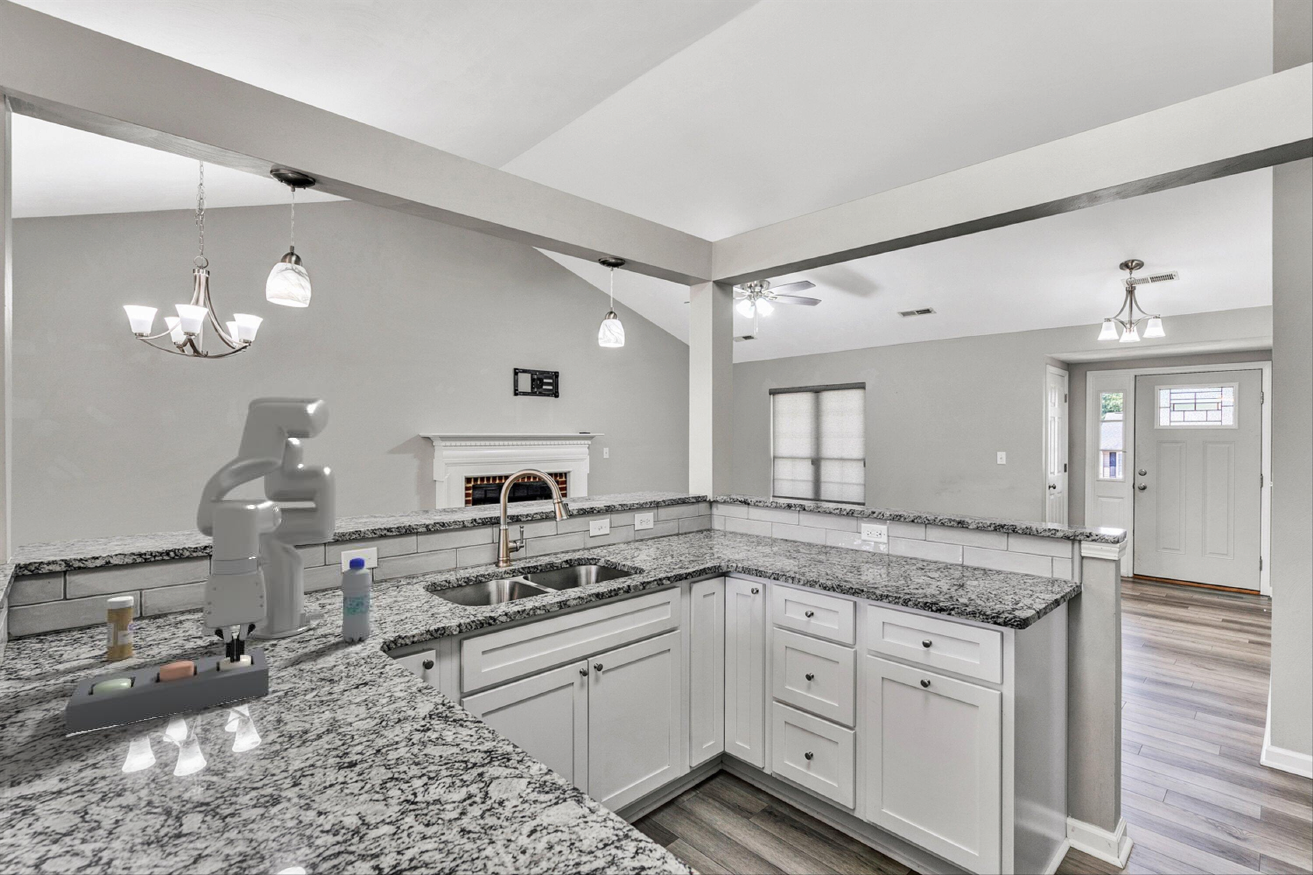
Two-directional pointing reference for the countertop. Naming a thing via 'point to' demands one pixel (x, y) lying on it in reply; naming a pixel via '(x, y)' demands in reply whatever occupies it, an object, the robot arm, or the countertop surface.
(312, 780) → the countertop surface
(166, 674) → the terracotta button
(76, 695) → the button box
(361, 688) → the countertop surface
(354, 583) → the bottle
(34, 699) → the countertop surface
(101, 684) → the sage button
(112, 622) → the sprinkles bottle
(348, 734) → the countertop surface
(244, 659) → the cream button
